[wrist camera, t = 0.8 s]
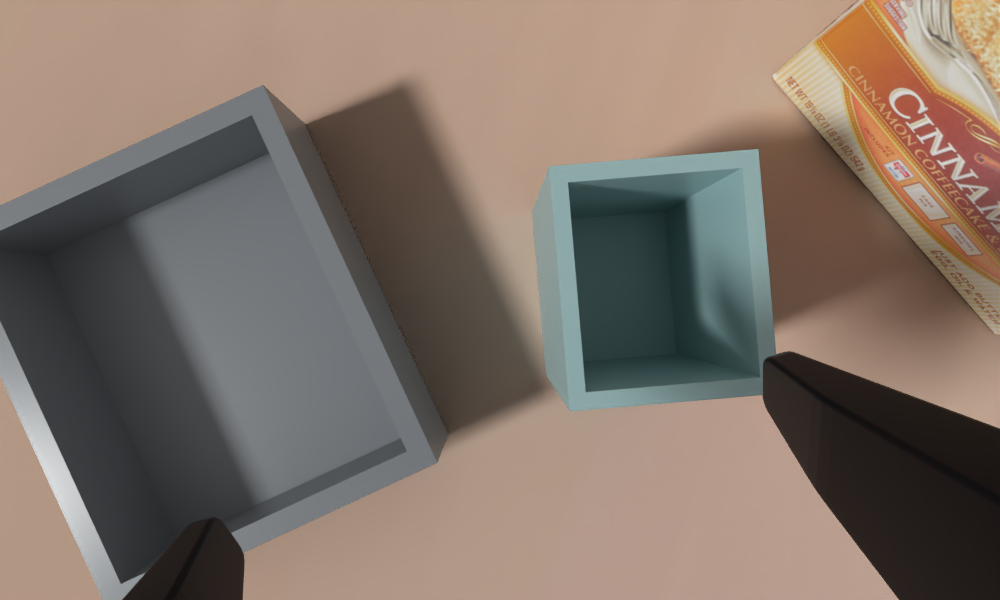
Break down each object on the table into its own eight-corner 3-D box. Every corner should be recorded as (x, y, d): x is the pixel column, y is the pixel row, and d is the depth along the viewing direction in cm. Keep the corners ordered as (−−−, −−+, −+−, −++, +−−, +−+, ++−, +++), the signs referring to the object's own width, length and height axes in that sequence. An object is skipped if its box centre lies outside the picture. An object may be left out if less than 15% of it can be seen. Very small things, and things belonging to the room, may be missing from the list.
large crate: (447, 434, 25) (437, 462, 21) (179, 558, 25) (109, 614, 21) (305, 123, 25) (262, 84, 21) (36, 247, 25) (-65, 235, 21)
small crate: (684, 363, 25) (779, 393, 17) (545, 375, 25) (569, 411, 17) (670, 200, 25) (758, 149, 17) (531, 212, 25) (548, 166, 17)
